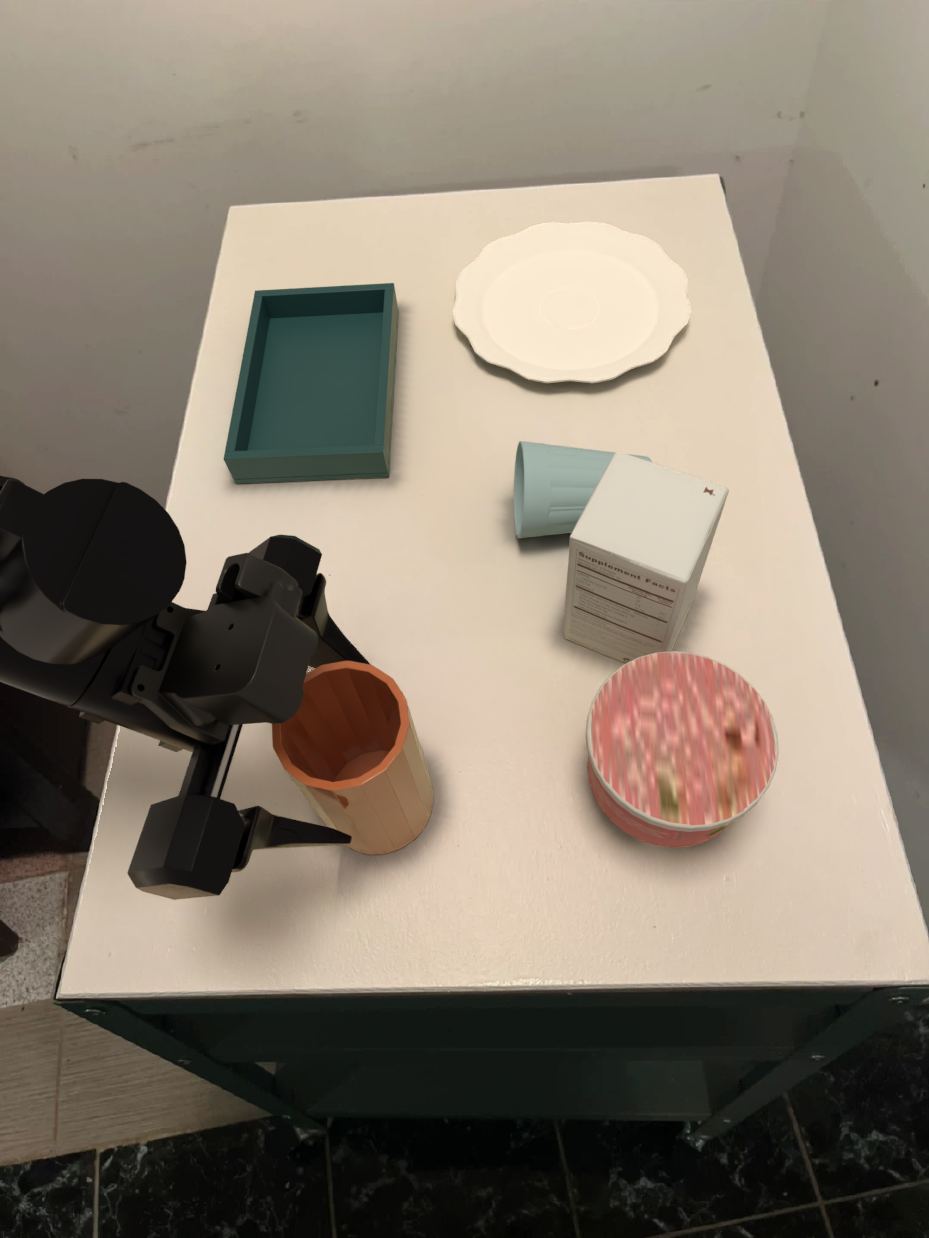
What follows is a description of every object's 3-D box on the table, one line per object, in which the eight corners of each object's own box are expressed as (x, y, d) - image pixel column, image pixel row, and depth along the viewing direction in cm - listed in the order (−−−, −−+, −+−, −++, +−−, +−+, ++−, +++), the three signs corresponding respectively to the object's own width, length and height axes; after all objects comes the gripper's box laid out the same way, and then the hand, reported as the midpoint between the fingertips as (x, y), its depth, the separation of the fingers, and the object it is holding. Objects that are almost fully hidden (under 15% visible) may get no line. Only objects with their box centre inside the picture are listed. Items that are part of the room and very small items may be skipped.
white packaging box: (600, 560, 61) (616, 445, 50) (696, 597, 59) (735, 485, 48) (558, 639, 58) (565, 535, 47) (658, 681, 56) (689, 582, 45)
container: (581, 862, 51) (590, 825, 44) (576, 704, 56) (583, 649, 49) (756, 865, 50) (793, 829, 43) (734, 705, 55) (765, 650, 48)
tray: (388, 477, 67) (383, 452, 64) (235, 484, 67) (223, 459, 65) (398, 311, 76) (393, 282, 74) (264, 318, 77) (254, 290, 74)
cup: (629, 492, 66) (510, 491, 66) (648, 422, 60) (519, 420, 60) (643, 557, 62) (517, 556, 61) (665, 488, 56) (526, 487, 56)
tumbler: (330, 863, 52) (275, 800, 40) (321, 758, 55) (269, 673, 44) (440, 843, 52) (416, 775, 40) (425, 740, 55) (399, 650, 44)
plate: (735, 339, 72) (739, 324, 70) (522, 429, 68) (522, 415, 67) (609, 210, 81) (610, 195, 80) (417, 284, 78) (415, 268, 76)
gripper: (74, 829, 29) (423, 931, 37) (230, 423, 37) (483, 577, 46) (-5, 854, 36) (297, 933, 44) (139, 514, 45) (369, 631, 53)
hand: (365, 760), depth 47 cm, fingers open, 9 cm apart
